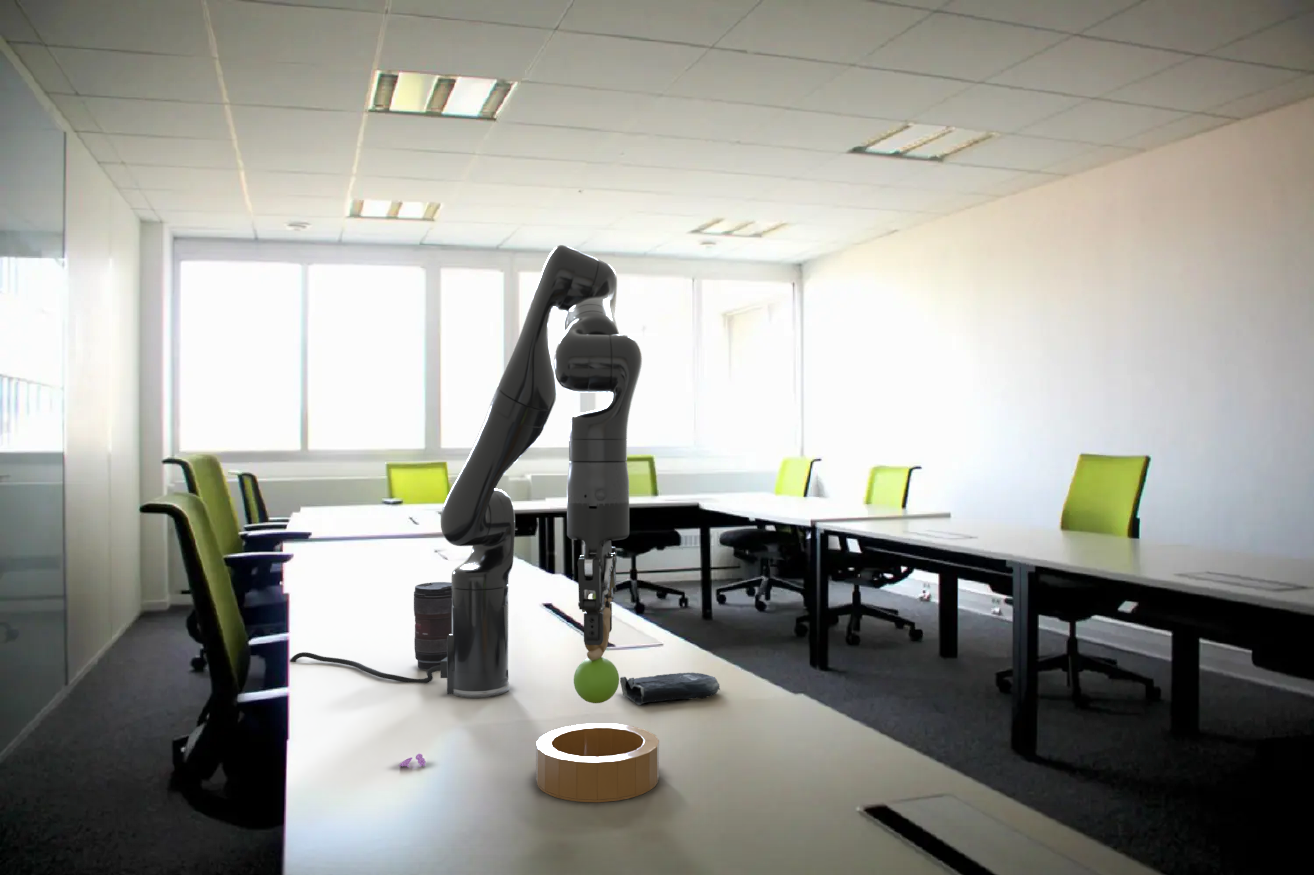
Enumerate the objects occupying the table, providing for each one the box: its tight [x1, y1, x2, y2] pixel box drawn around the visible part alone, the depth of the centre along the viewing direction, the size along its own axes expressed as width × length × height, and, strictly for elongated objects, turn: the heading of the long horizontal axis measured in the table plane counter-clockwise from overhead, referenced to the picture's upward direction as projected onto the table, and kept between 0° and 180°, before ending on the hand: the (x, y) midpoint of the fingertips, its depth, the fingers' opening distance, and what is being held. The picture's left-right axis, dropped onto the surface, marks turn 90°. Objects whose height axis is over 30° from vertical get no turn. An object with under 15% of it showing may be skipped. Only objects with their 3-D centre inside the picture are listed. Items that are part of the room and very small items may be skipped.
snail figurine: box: [573, 598, 620, 704], centre depth 110 cm, size 5×6×12 cm
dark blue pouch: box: [619, 672, 721, 706], centre depth 147 cm, size 9×6×15 cm
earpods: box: [398, 753, 427, 768], centre depth 114 cm, size 3×2×2 cm
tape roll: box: [535, 723, 660, 803], centre depth 109 cm, size 15×15×4 cm
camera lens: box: [413, 581, 452, 671], centre depth 167 cm, size 8×8×15 cm
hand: (598, 638), depth 110 cm, fingers closed on snail figurine, 6 cm apart
